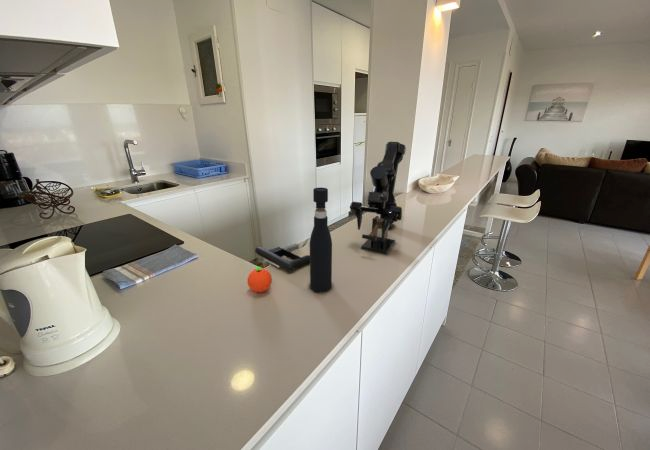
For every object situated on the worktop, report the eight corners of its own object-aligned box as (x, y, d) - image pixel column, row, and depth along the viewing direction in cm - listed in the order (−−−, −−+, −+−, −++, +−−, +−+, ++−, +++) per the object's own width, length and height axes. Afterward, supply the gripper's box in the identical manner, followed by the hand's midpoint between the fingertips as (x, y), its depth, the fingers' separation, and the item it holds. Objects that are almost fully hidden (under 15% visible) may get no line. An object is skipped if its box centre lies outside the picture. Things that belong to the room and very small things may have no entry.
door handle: (286, 237, 112) (251, 247, 100) (321, 252, 99) (286, 266, 88) (286, 245, 113) (252, 256, 101) (321, 261, 100) (286, 276, 89)
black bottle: (315, 294, 79) (314, 193, 69) (306, 283, 85) (304, 187, 74) (335, 288, 82) (337, 190, 71) (325, 278, 88) (325, 185, 77)
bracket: (386, 254, 103) (388, 225, 99) (361, 248, 108) (362, 220, 103) (395, 242, 113) (397, 216, 109) (371, 238, 117) (373, 212, 113)
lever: (375, 242, 96) (375, 236, 95) (361, 240, 99) (361, 234, 98) (387, 225, 107) (387, 219, 106) (375, 222, 109) (375, 217, 108)
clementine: (246, 284, 84) (243, 264, 82) (269, 280, 87) (267, 259, 84) (250, 299, 77) (248, 277, 75) (275, 293, 80) (273, 272, 77)
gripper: (352, 180, 101) (341, 218, 95) (404, 184, 95) (396, 225, 89) (356, 196, 111) (347, 231, 105) (404, 200, 104) (397, 238, 99)
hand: (371, 231), depth 99 cm, fingers open, 9 cm apart
